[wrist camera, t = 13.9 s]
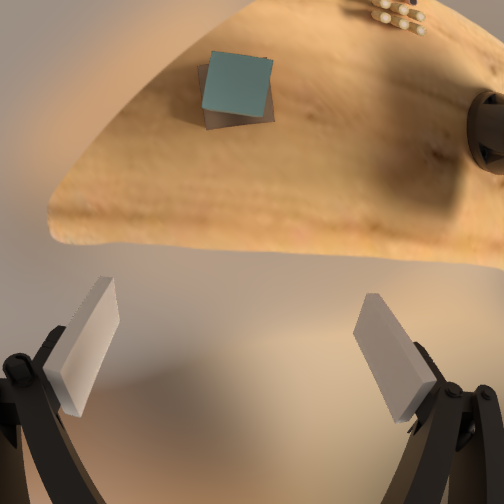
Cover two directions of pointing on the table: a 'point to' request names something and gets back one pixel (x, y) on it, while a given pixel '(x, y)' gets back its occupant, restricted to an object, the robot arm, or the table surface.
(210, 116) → the walnut base
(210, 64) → the teal block
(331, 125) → the table surface
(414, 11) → the ammunition
